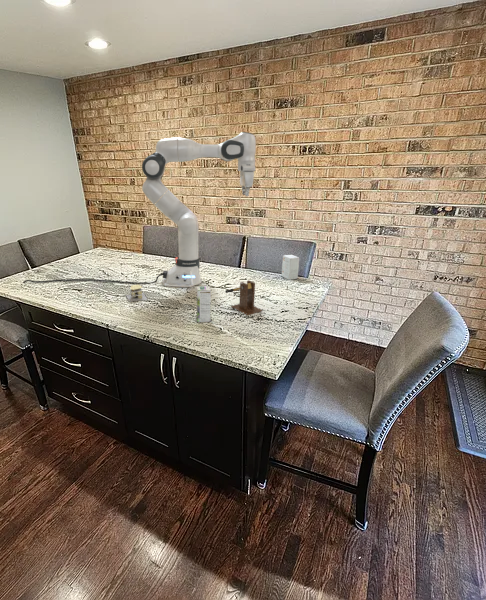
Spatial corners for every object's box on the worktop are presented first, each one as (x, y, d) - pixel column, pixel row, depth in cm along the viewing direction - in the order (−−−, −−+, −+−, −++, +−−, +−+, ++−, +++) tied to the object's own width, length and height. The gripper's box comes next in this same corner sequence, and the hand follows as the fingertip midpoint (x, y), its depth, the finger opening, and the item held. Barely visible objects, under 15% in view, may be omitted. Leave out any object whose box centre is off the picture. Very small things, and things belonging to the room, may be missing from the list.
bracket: (230, 308, 157) (231, 280, 152) (245, 304, 162) (246, 277, 157) (247, 317, 148) (248, 288, 143) (262, 313, 152) (264, 284, 147)
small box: (297, 278, 200) (299, 257, 195) (288, 280, 198) (290, 258, 193) (290, 275, 207) (292, 254, 202) (281, 276, 205) (282, 255, 200)
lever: (225, 294, 158) (224, 289, 158) (240, 290, 163) (239, 285, 163) (242, 290, 147) (240, 285, 147) (257, 286, 151) (256, 281, 151)
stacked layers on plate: (126, 295, 174) (125, 285, 172) (143, 293, 178) (142, 283, 176) (129, 301, 166) (128, 291, 164) (147, 299, 169) (146, 288, 167)
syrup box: (196, 316, 149) (196, 285, 143) (209, 316, 149) (209, 285, 144) (197, 322, 143) (196, 290, 138) (211, 321, 144) (211, 290, 139)
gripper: (237, 167, 183) (236, 194, 188) (243, 167, 164) (242, 197, 169) (249, 167, 183) (248, 194, 188) (256, 167, 164) (254, 196, 169)
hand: (245, 195), depth 178 cm, fingers open, 8 cm apart
